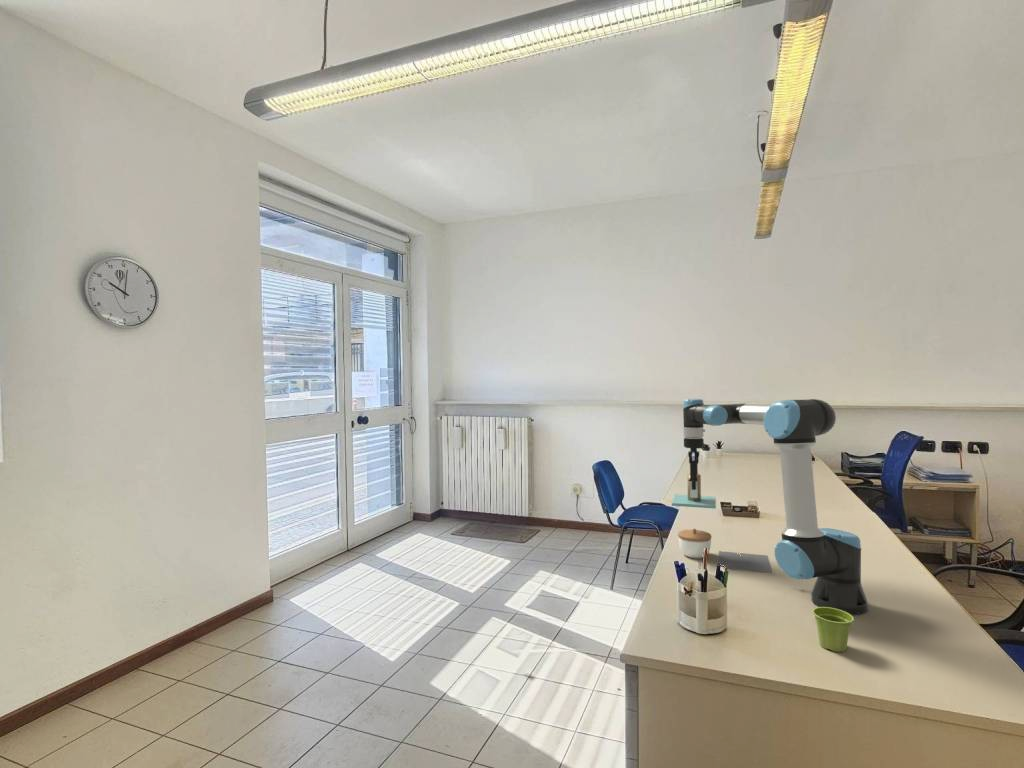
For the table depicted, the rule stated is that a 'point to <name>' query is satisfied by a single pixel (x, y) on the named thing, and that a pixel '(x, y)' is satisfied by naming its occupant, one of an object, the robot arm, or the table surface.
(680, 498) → the cover board
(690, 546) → the lidded bowl
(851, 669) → the table surface
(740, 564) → the mat
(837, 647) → the plant pot
